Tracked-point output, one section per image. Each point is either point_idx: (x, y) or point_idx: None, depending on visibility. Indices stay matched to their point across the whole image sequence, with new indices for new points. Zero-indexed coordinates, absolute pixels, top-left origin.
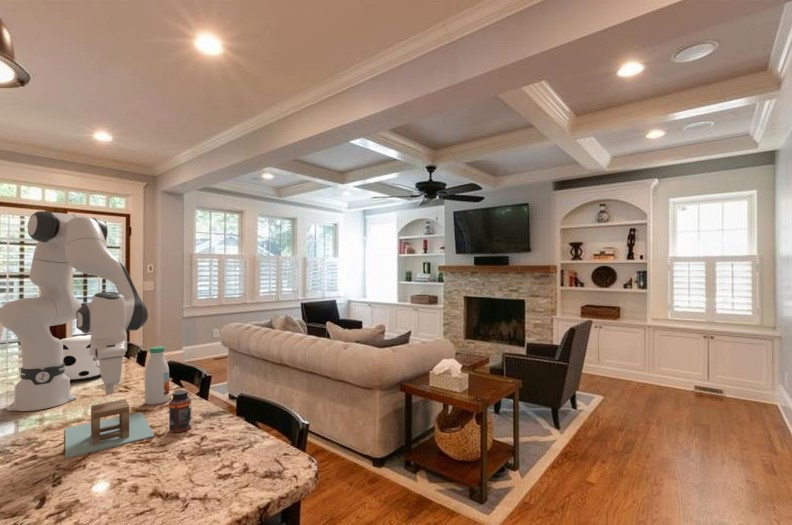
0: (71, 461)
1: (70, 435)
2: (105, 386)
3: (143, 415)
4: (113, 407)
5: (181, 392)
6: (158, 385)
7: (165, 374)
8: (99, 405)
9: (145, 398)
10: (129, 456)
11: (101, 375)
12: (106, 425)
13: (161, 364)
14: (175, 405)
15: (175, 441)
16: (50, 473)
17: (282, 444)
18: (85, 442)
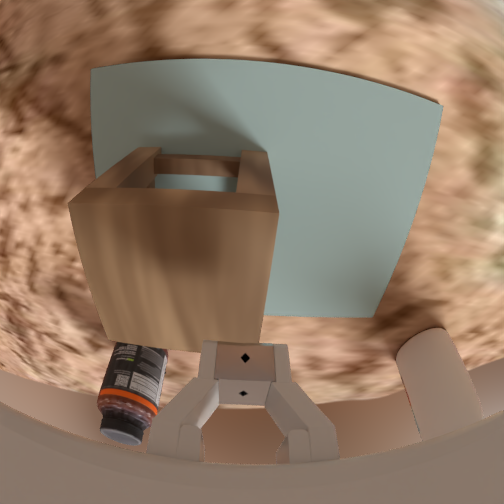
0: (60, 91)
1: (341, 92)
2: (191, 398)
3: (338, 316)
4: (128, 298)
5: (114, 437)
6: (415, 395)
7: (418, 429)
8: (230, 253)
9: (438, 340)
10: (25, 228)
11: (249, 498)
12: (345, 217)
13: None
14: (98, 397)
15: (71, 316)
16: (22, 55)
17: (24, 377)
18: (194, 125)
